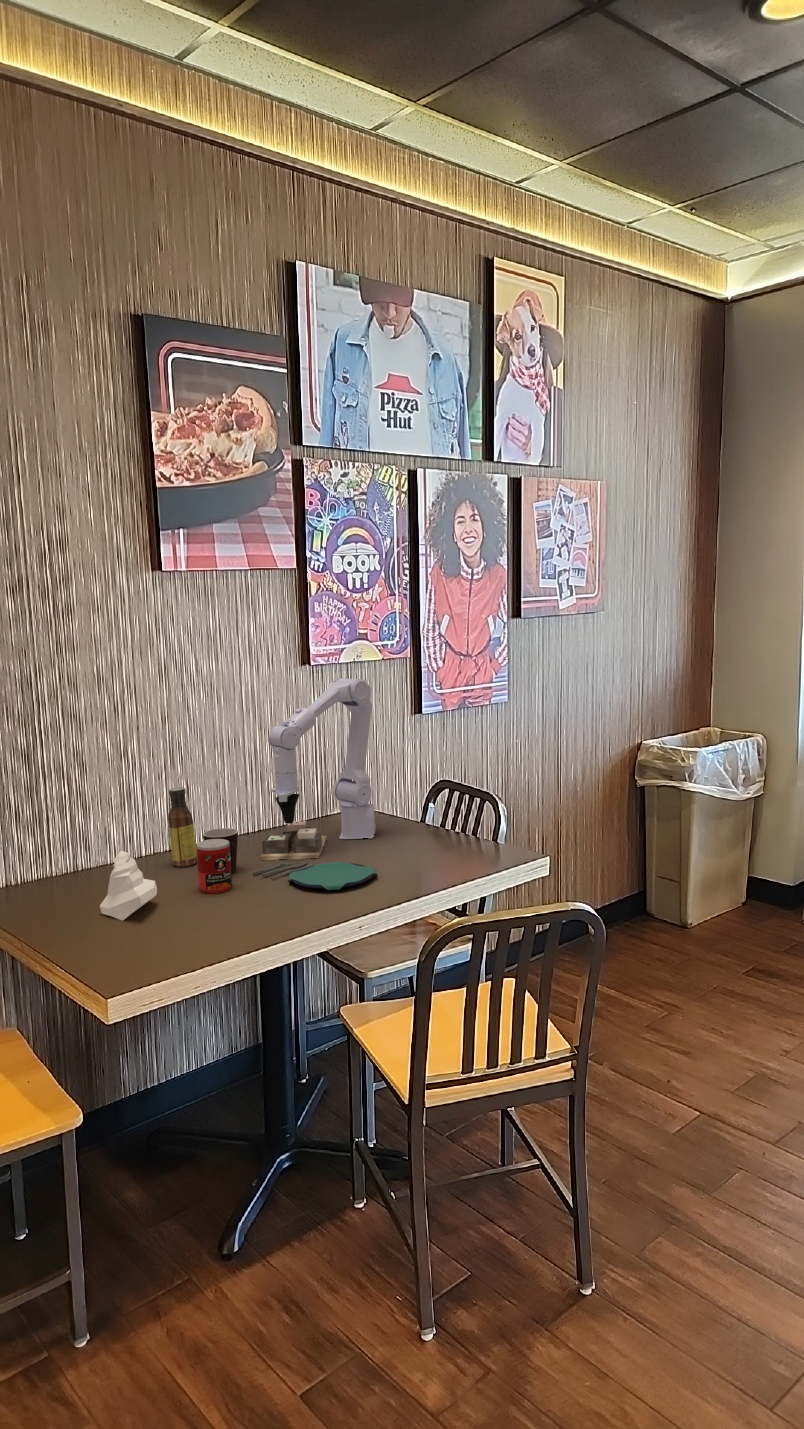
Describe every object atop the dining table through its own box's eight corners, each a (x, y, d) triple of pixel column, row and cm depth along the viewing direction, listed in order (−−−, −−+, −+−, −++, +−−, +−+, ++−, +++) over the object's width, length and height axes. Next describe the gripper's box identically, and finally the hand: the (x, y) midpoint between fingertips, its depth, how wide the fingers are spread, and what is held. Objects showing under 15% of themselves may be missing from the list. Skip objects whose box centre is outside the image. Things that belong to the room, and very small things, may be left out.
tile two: (287, 845, 254) (286, 834, 254) (284, 850, 250) (283, 839, 250) (270, 846, 255) (270, 835, 254) (267, 850, 250) (267, 839, 250)
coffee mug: (205, 868, 242) (203, 829, 241) (240, 865, 244) (237, 826, 242) (204, 882, 231) (202, 841, 229) (241, 878, 232) (238, 838, 231)
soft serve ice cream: (92, 930, 205) (73, 866, 205) (122, 912, 220) (104, 852, 220) (145, 915, 203) (126, 851, 203) (172, 898, 218) (154, 838, 218)
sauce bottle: (200, 860, 249) (195, 785, 247) (193, 867, 243) (187, 790, 240) (176, 860, 250) (170, 786, 247) (168, 867, 244) (162, 791, 241)
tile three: (306, 830, 263) (305, 820, 263) (304, 834, 259) (303, 824, 258) (290, 831, 263) (289, 820, 263) (287, 835, 259) (287, 824, 258)
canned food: (207, 896, 220) (203, 849, 218) (194, 887, 226) (190, 842, 225) (238, 889, 224) (235, 843, 223) (224, 881, 231) (221, 836, 229)
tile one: (316, 838, 254) (316, 828, 254) (314, 843, 250) (314, 832, 249) (300, 839, 254) (299, 828, 254) (297, 843, 250) (297, 832, 249)
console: (327, 839, 265) (326, 823, 265) (318, 858, 247) (317, 841, 246) (273, 840, 266) (272, 824, 265) (260, 860, 247) (259, 843, 247)
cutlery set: (334, 899, 214) (333, 889, 214) (245, 879, 233) (244, 870, 233) (391, 877, 229) (391, 868, 229) (303, 860, 248) (303, 852, 248)
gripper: (275, 766, 257) (278, 816, 259) (265, 778, 243) (269, 830, 244) (301, 766, 257) (304, 815, 258) (293, 777, 242) (296, 829, 244)
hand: (289, 822), depth 251 cm, fingers closed
